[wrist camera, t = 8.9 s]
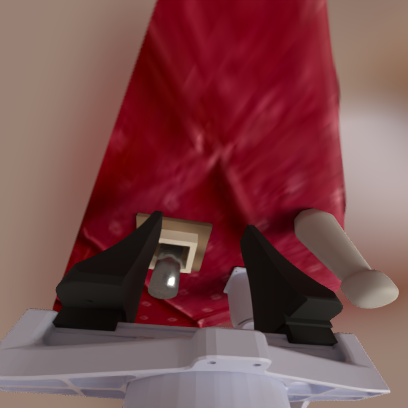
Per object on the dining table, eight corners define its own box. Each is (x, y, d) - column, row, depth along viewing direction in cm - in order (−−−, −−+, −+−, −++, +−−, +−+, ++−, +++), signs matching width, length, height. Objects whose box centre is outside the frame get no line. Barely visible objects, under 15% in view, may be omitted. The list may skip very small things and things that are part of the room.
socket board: (199, 267, 34) (198, 280, 31) (139, 260, 32) (134, 273, 30) (212, 223, 27) (212, 235, 25) (138, 212, 26) (131, 224, 23)
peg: (180, 255, 30) (174, 300, 24) (159, 251, 30) (146, 296, 23) (185, 240, 28) (180, 285, 21) (162, 236, 28) (149, 281, 21)
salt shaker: (293, 235, 29) (347, 320, 18) (284, 213, 26) (342, 297, 15) (328, 223, 27) (411, 307, 16) (323, 197, 24) (419, 278, 14)
